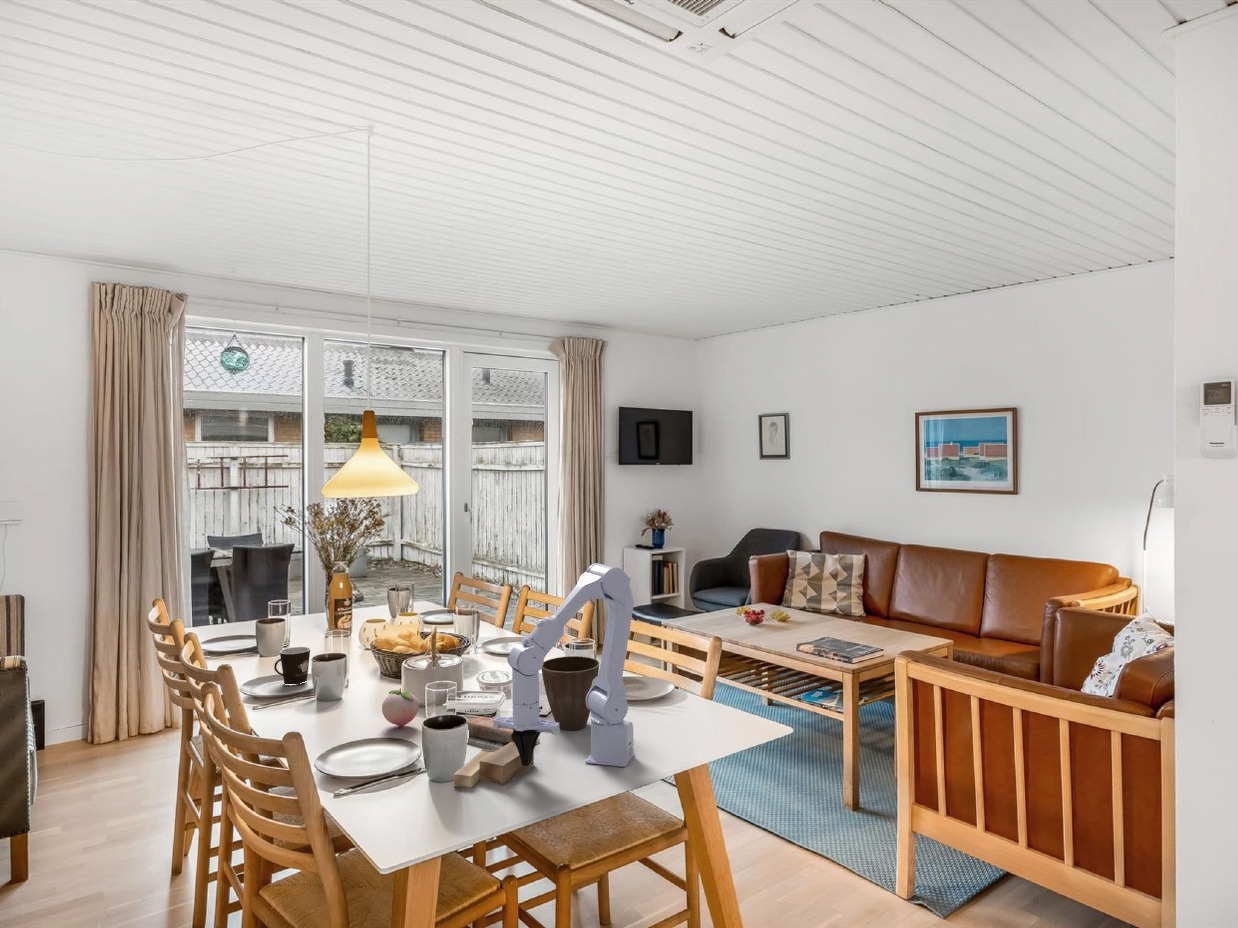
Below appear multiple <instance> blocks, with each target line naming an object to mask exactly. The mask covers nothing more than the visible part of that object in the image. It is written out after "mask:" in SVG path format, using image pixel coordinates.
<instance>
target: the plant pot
mask: <svg viewBox="0 0 1238 928" xmlns="http://www.w3.org/2000/svg"><path fill="white" fill-rule="evenodd" d="M600 663H601V662H600V661H599V660H597V659H596V658H592V657H589V656H588V657H587V656H579V655H578V656H577V655H574V656H573V655H572V656H571V655H570V656H559V657H555V658H554V657H553V658H550V659H547V660H544V663H543V667H542V669H541V675H542V680H543V685H544V691H545V694H546V699H547V702H548V705H549V708H550V711H551V714H552V717H553V719H554V722H556V723H559V730H561V731H565V732H566V731H567V732H568V731H569V732H573V731H579V730H582V729H584V728H586V726H587V723H588V720H589V717H590V716H591V711H590V710H589V709H588V708H587V706H586V696H587V694H588V692H589V690H590V688H591V686H592V681H593V679H594V678H596V677H597V676H598V674H599V669H600Z"/></svg>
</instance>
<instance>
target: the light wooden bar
mask: <svg viewBox="0 0 1238 928" xmlns="http://www.w3.org/2000/svg"><path fill="white" fill-rule="evenodd" d="M495 751H497V750H489V749H485V748H482V749H481V750H480V751H479V752H478V753H477V754H476V755H475V756H473V757H472V758H471V759H470V760H469V761H468V762H466V763H465V764H464V765H463V766H461V767H460V768H461V769H460V768H459V769H458V770H457V771H456V772H454V773H453V787H459V788H469V789H472V788H473V787H474V786H475V785H476V784H477V783H479V782H480V764H479V761H480V760H482V759H484V758H485V757H487V756H489V755H490V754H492V753H494V752H495Z"/></svg>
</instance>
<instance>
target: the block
mask: <svg viewBox="0 0 1238 928" xmlns="http://www.w3.org/2000/svg"><path fill="white" fill-rule="evenodd" d="M534 751H535V750H534ZM534 751H533V755H532V761H531V763H530V764H529V765H528V766H524V765H522V763H521V758H520V755H519V752H518V749H517V747H516V745H515V743H514V742H510V743H509V744H507V745H505V746H504V747H502V748H500V749H499V750H497V751H495V752H494V753H492V754H490V755H489V756H487V757H485V758H484V759H482V760H480V761H479V764H480V780H479V782H485V783H489V784H493V785H498V786H501V787H502V786H505V785H507V784H508V783H509V782H510V781H512V780H514V779H515V778H517V777H518V776H519V775H521V774H523V773H524V772H525V771H526V770H528V769H529V768H530V769H531V767H533V766H534V764H535V763H534V761H535V760H534V759H535V758H534V753H535V752H534ZM513 778H514V779H513Z"/></svg>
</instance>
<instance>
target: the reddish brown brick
mask: <svg viewBox="0 0 1238 928" xmlns="http://www.w3.org/2000/svg"><path fill="white" fill-rule="evenodd" d="M494 719H495V718H489V717H486V716H477V717H475V718H471V719H470V720H468V721H466V722H467V724H468V730H469V738H468V743H467V744H468V745H472V746H475V747H479V748H482V749H489V750H499V749H500V748H502V747H504V746H505V745H507V744H509V743H510V742H514V741H513V740H512V738H511V734H512V733H513V729H504V728H499V729H494V726H493V720H494ZM539 743H540V738H538V739H537V742H536V745H538V744H539Z"/></svg>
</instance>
